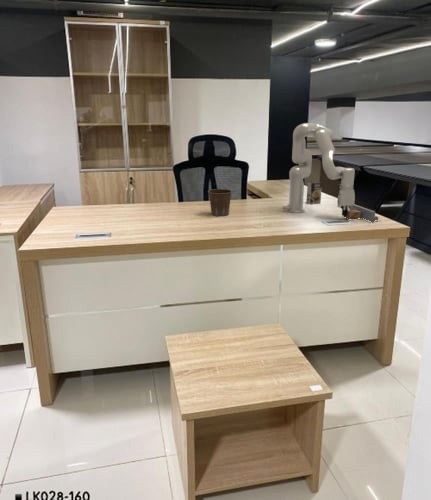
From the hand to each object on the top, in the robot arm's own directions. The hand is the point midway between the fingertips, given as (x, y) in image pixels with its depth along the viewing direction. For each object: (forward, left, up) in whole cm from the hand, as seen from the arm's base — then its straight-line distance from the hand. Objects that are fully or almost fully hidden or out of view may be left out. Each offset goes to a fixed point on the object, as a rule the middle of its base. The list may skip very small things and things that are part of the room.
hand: (344, 215), depth 276 cm
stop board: (+14, 0, -2) cm, 15 cm away
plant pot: (-75, +34, -3) cm, 82 cm away
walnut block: (+6, +1, -2) cm, 7 cm away
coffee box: (+4, +52, -2) cm, 52 cm away
